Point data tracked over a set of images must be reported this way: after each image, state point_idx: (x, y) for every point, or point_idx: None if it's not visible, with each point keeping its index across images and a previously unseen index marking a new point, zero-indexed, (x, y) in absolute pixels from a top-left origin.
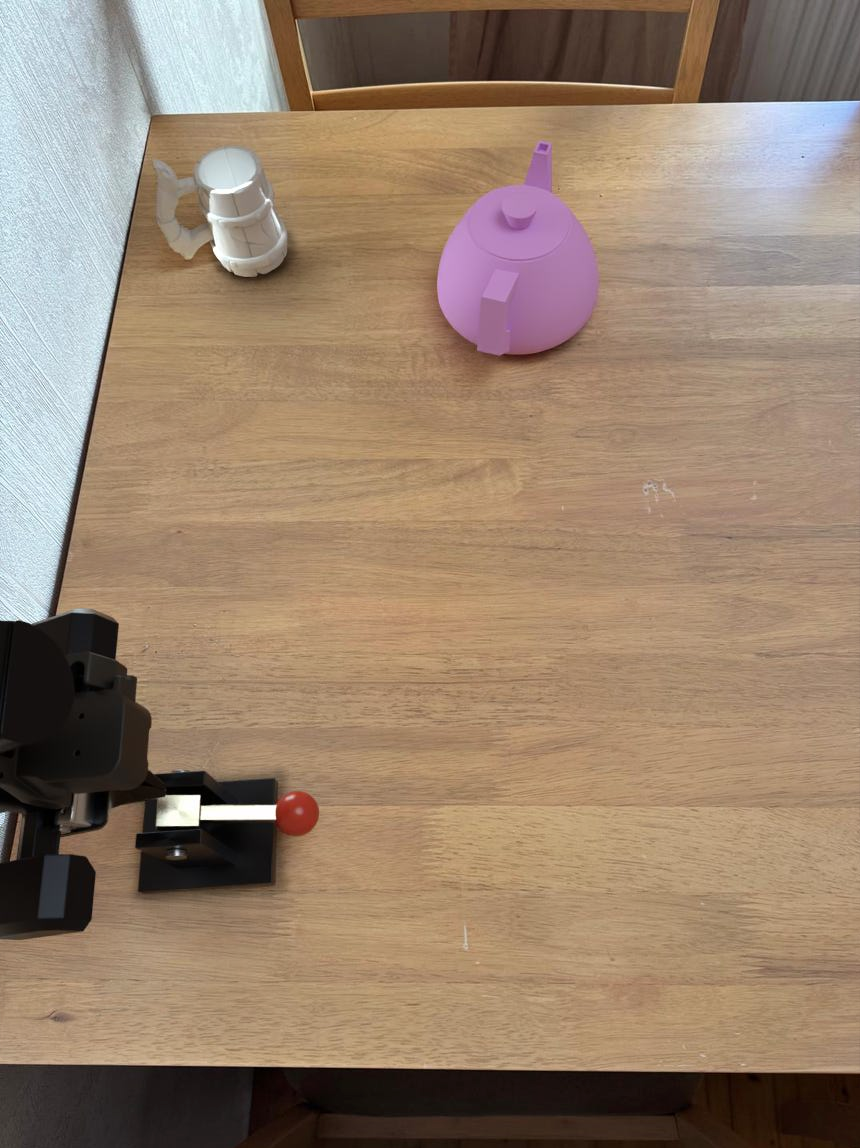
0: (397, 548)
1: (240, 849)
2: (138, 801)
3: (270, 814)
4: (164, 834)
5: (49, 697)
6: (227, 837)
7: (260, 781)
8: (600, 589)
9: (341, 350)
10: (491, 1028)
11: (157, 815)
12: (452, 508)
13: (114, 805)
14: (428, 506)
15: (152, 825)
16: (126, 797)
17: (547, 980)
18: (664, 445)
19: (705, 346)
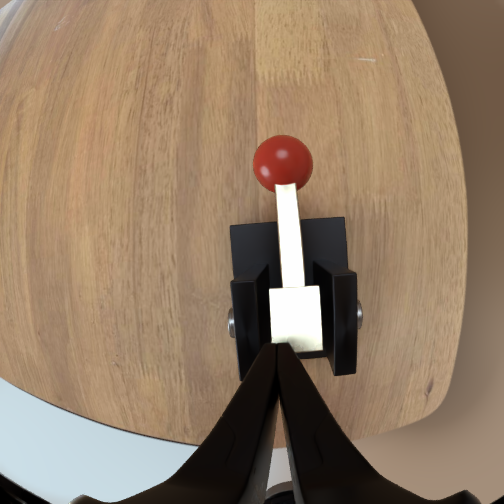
0: (45, 155)
1: (310, 255)
2: (320, 398)
3: (289, 190)
4: (339, 334)
5: None
6: None
7: (233, 240)
8: (102, 23)
9: None
10: (421, 55)
11: (305, 350)
12: (32, 125)
13: (365, 467)
14: (27, 142)
15: None
16: (328, 435)
17: (382, 21)
18: (41, 32)
19: (12, 40)
